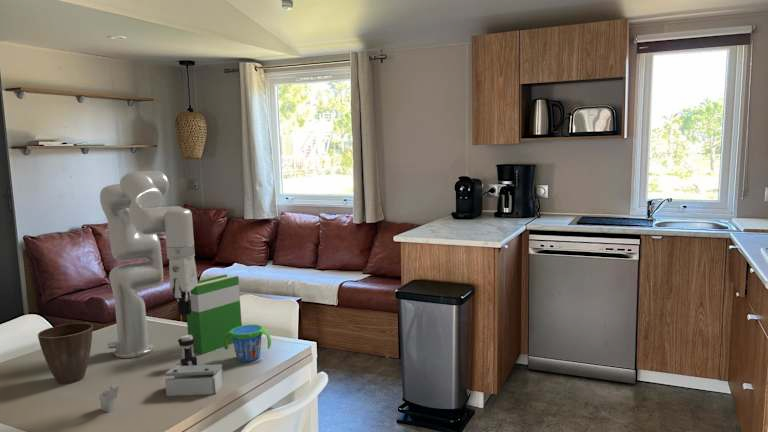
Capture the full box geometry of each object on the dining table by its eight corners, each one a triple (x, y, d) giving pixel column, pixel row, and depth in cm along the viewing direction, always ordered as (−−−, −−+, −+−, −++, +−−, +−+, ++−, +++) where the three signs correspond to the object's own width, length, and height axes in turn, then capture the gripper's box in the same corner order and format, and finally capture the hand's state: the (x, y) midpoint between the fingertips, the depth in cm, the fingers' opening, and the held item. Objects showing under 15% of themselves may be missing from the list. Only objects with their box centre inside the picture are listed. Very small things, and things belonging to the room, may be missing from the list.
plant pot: (40, 378, 178) (34, 329, 176) (92, 366, 186) (87, 319, 185) (46, 393, 166) (40, 341, 164) (101, 379, 175) (96, 329, 173)
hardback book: (229, 336, 212) (225, 274, 210) (242, 339, 208) (238, 276, 205) (189, 350, 198) (184, 284, 196) (202, 354, 194) (197, 286, 191)
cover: (164, 376, 160) (164, 371, 160) (175, 368, 168) (175, 364, 168) (214, 374, 160) (213, 369, 160) (222, 367, 168) (221, 362, 168)
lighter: (100, 409, 154) (97, 381, 153) (106, 406, 155) (104, 378, 154) (115, 415, 150) (112, 386, 149) (121, 412, 151) (118, 383, 150)
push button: (179, 371, 179) (177, 341, 178) (173, 367, 183) (171, 337, 182) (199, 365, 183) (197, 336, 182) (193, 361, 187) (191, 332, 186)
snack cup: (219, 363, 185) (217, 333, 183) (233, 352, 195) (231, 323, 194) (264, 365, 182) (262, 334, 180) (276, 353, 192) (274, 324, 191)
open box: (166, 396, 161) (165, 379, 160) (176, 384, 168) (175, 369, 168) (215, 393, 161) (214, 377, 160) (223, 382, 169) (222, 367, 168)
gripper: (184, 256, 154) (189, 321, 156) (202, 246, 169) (206, 306, 171) (157, 257, 154) (162, 322, 156) (176, 247, 169) (181, 307, 171)
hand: (185, 313), depth 163 cm, fingers closed
